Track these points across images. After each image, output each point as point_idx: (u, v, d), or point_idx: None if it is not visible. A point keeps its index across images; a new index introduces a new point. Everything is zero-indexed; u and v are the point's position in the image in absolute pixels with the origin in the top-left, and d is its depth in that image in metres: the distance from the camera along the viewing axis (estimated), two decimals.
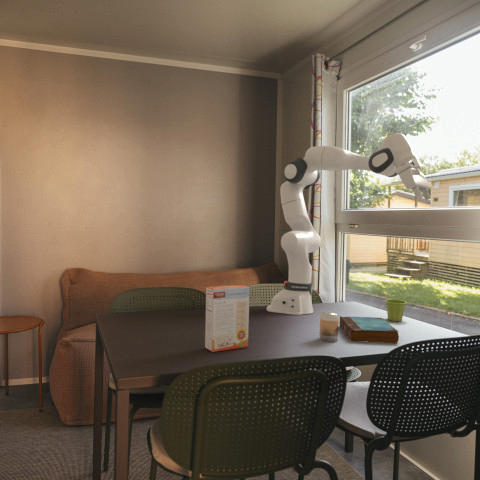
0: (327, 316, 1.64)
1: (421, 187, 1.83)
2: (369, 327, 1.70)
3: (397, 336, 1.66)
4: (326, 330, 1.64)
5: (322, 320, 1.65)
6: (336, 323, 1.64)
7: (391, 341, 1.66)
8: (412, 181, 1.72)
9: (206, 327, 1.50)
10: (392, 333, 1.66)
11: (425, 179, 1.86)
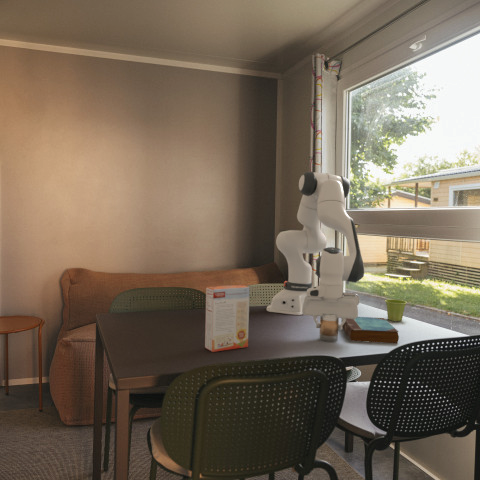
0: (327, 316, 1.64)
1: None
2: (369, 327, 1.70)
3: (397, 336, 1.66)
4: (326, 330, 1.64)
5: (322, 320, 1.65)
6: (336, 323, 1.64)
7: (391, 341, 1.66)
8: (302, 311, 1.67)
9: (206, 327, 1.50)
10: (392, 333, 1.66)
11: (352, 308, 1.63)
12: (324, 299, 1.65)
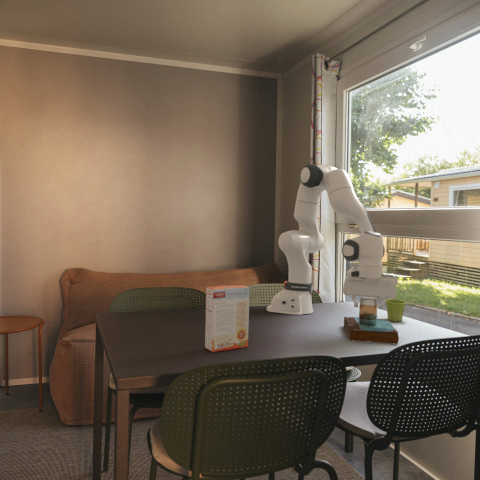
0: (367, 301, 1.74)
1: None
2: (369, 328, 1.70)
3: (397, 337, 1.65)
4: (366, 314, 1.74)
5: (362, 305, 1.75)
6: (375, 307, 1.74)
7: (391, 342, 1.66)
8: (343, 291, 1.77)
9: (206, 327, 1.50)
10: (392, 334, 1.65)
11: (391, 288, 1.73)
12: (364, 280, 1.74)
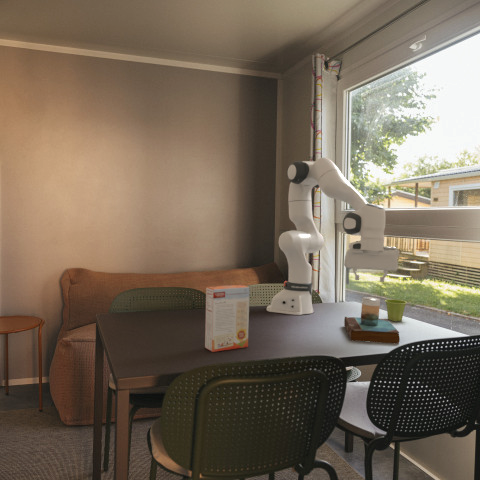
0: (370, 301, 1.73)
1: None
2: (370, 328, 1.70)
3: (398, 337, 1.65)
4: (368, 314, 1.74)
5: (364, 305, 1.75)
6: (378, 308, 1.74)
7: (392, 342, 1.66)
8: (344, 263, 1.76)
9: (206, 327, 1.50)
10: (393, 334, 1.65)
11: (392, 260, 1.73)
12: (366, 252, 1.74)
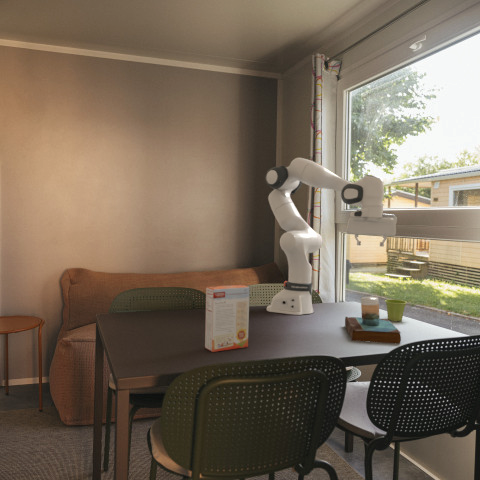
0: (367, 301, 1.74)
1: None
2: (371, 328, 1.70)
3: (399, 337, 1.65)
4: (367, 314, 1.74)
5: (363, 305, 1.75)
6: (376, 307, 1.74)
7: (393, 342, 1.66)
8: None
9: (206, 327, 1.50)
10: (394, 334, 1.65)
11: (390, 226, 1.88)
12: (366, 219, 1.90)
